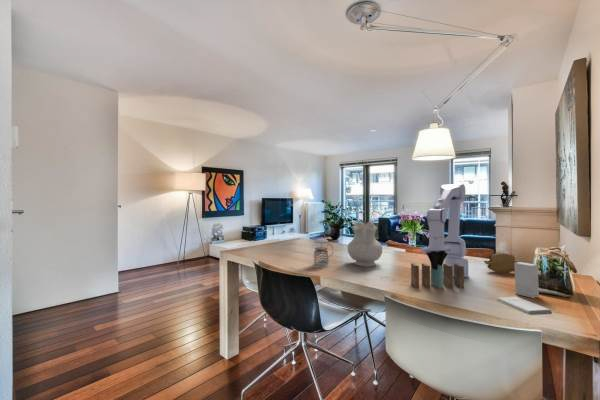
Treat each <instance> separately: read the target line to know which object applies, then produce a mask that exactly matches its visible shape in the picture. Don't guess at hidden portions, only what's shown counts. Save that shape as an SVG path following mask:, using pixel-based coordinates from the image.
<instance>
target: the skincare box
mask: <svg viewBox="0 0 600 400" xmlns="http://www.w3.org/2000/svg"><path fill="white" fill-rule="evenodd" d="M516 262H517V263H514V268H515V272H514V285H515V286H514V288H515V295H519V296H522V297H523V296H524V297H527V298H530V297H531V298H532V299H536V298H535V297H537V298H539V296H540V294H539V292H540V289H539V268H538V267H539V266H538V264H534V263H529V262H521V261H516Z"/></svg>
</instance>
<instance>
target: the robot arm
mask: <svg viewBox="0 0 600 400" xmlns="http://www.w3.org/2000/svg"><path fill="white" fill-rule="evenodd" d="M439 193H440V198H438V199H436V201H435V202H434V205H433V206H432V207H431V208H430V209H427V212H426V220H427V225H428V238H429V239H428V240H429V241H428V246H425V247H420V253H422V254H426V255H427V257H428V259H429V262H430V267H431V266H432V269H435V270H437V267H438V265H441V266H443V264H449V265H451V266H452V270H453V278H454V264H460V265H462V266H464V278H470V276H469V260H468V258H467V257H465V256H466V253H467V247H466V241H465V240H464V239H463V238H461V237H460V225H461V224H460V223H461V221H460V220H461V205H462V203H464V202H465V201H466V186H465V184H464V183H453V184H452V183H451V184H441V186H440V187H439ZM447 213H448V214H447ZM447 216H448V229H447V236H446V237H445V223H446V221H447Z"/></svg>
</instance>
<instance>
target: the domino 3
mask: <svg viewBox="0 0 600 400" xmlns="http://www.w3.org/2000/svg"><path fill="white" fill-rule="evenodd" d="M430 286H434V287H436V288H437V289H438V288H439V289H442V288H443V287H444V285H443V265H442V266H441V265H438V267H437V270H435V269H432V266H431V265H430ZM443 289H444V288H443Z"/></svg>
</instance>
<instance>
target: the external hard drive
mask: <svg viewBox="0 0 600 400" xmlns="http://www.w3.org/2000/svg"><path fill="white" fill-rule="evenodd" d="M496 300H497V301H498V302H500V301H501V302H500V303H502V302H503V303H502V304H504V303H505V305H507V306H509V307H511V306H512V307H511V308H514V309H517V310H518V309H519V310H518V311H521V312H523V313H525V312H526V314H527V313H528V315H534V313H537V314H547V313H546V312H551V313H552V310H551V309H549V308H547V307H544V306H542V305H539V304H537V303H534V302H531V301H529V300H526V299H523V298H521V297H518V296H503V297H499V296H498V297H497V298H496Z"/></svg>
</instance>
